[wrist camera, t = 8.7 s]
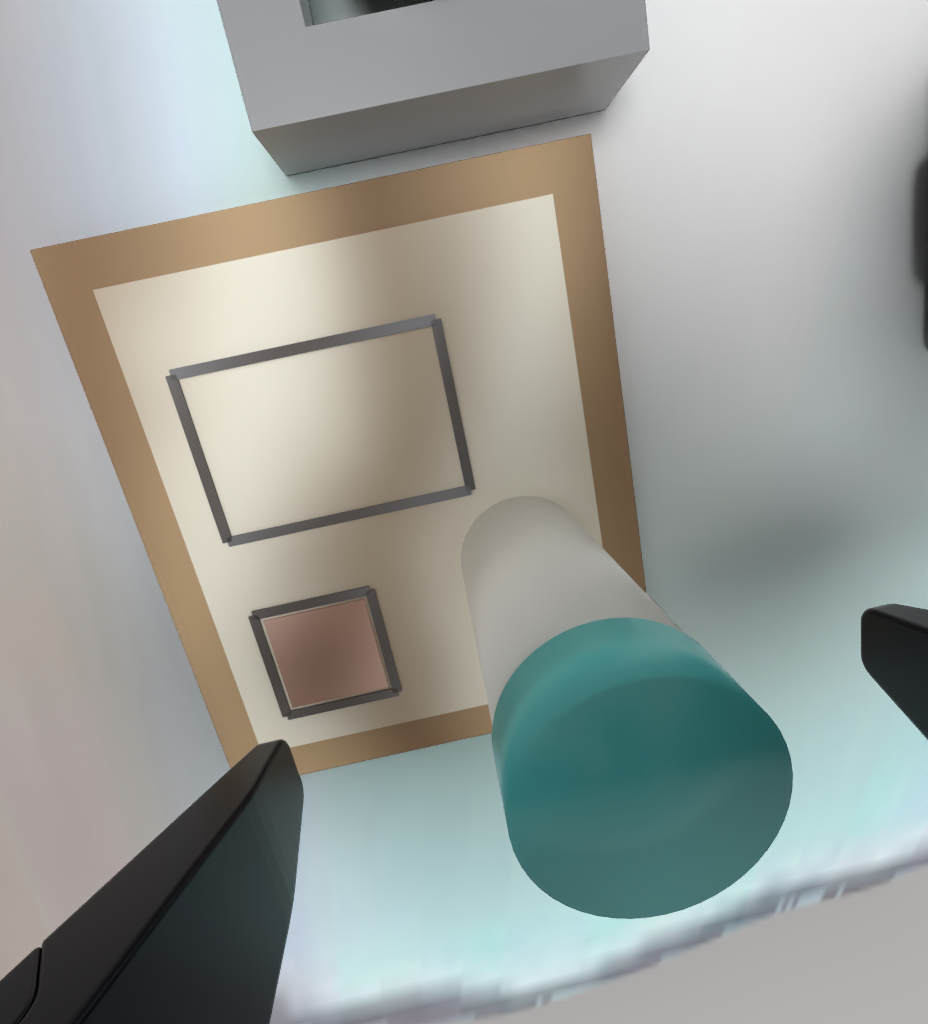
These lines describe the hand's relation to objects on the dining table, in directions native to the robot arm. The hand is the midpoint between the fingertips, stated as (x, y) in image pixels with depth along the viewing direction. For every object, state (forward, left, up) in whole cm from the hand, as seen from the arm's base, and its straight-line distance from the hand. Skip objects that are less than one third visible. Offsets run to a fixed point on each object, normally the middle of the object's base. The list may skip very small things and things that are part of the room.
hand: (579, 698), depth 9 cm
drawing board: (+3, -2, -6) cm, 7 cm away
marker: (0, 0, -6) cm, 6 cm away
